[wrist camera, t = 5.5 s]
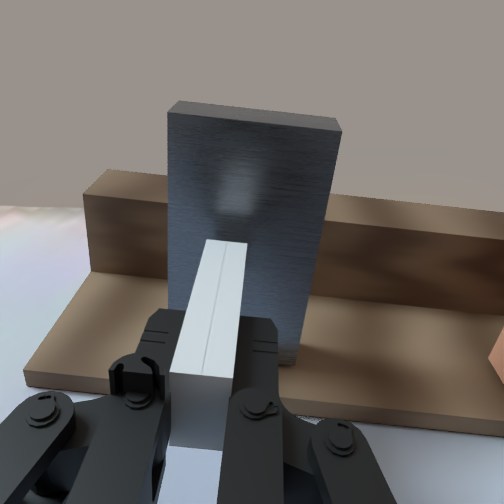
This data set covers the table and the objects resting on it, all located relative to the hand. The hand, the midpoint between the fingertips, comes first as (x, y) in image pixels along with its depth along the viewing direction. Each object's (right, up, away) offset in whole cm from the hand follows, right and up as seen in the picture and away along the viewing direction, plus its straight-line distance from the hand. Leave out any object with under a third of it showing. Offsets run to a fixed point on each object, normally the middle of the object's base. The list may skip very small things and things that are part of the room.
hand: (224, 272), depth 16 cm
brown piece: (+8, -4, +8) cm, 12 cm away
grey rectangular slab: (0, -4, +5) cm, 6 cm away
